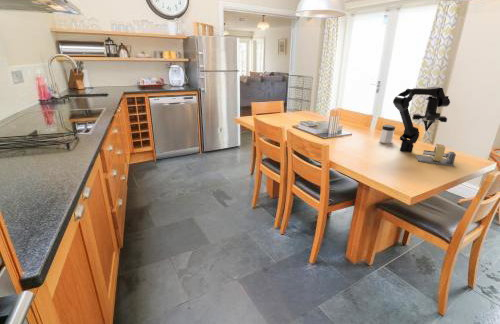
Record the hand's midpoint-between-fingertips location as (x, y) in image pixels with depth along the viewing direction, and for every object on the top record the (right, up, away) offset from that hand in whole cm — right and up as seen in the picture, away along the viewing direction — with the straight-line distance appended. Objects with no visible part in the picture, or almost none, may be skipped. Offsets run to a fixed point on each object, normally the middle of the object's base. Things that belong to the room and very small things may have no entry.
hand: (426, 130), depth 182 cm
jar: (-17, -6, +20) cm, 27 cm away
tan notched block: (-5, -19, -17) cm, 26 cm away
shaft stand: (-6, -20, -16) cm, 27 cm away
